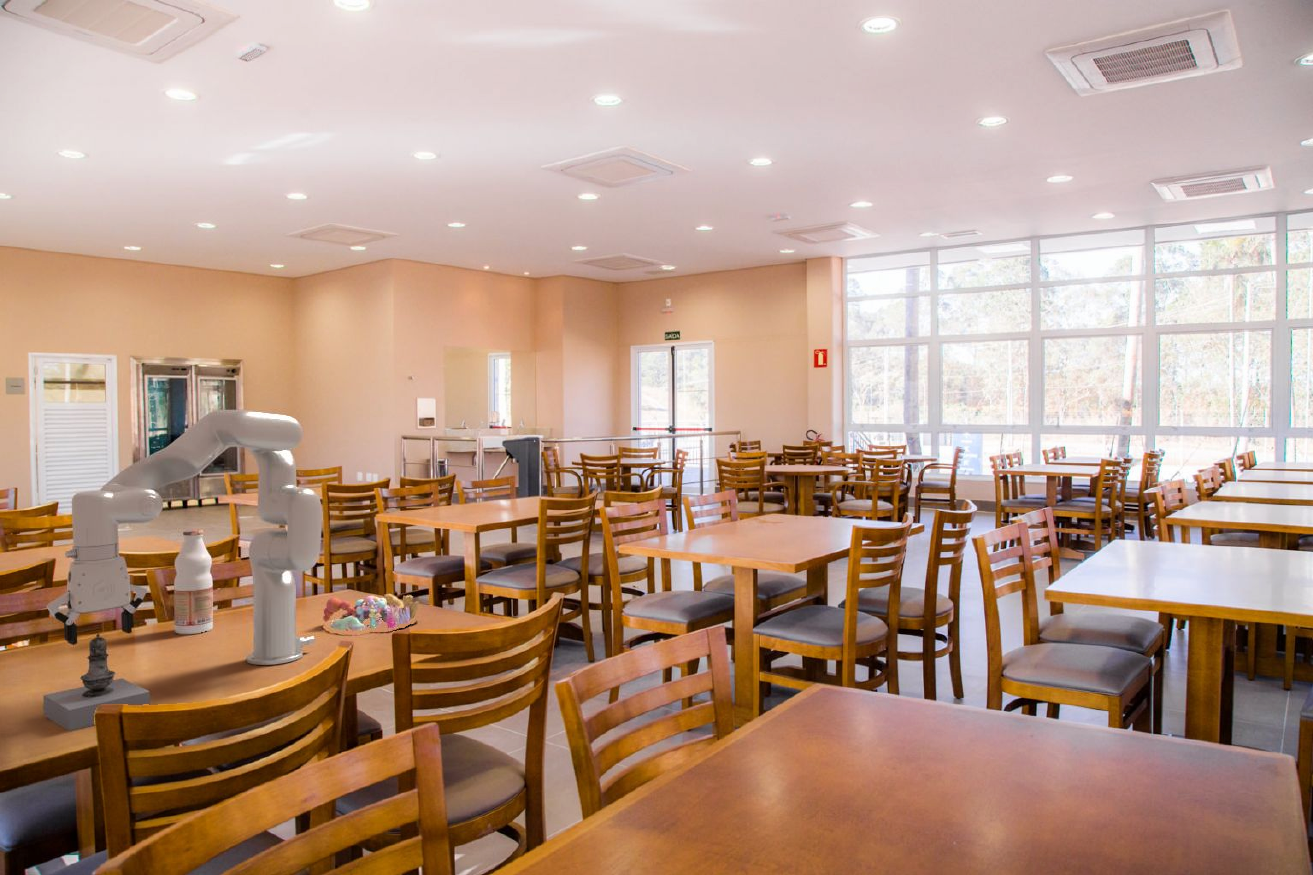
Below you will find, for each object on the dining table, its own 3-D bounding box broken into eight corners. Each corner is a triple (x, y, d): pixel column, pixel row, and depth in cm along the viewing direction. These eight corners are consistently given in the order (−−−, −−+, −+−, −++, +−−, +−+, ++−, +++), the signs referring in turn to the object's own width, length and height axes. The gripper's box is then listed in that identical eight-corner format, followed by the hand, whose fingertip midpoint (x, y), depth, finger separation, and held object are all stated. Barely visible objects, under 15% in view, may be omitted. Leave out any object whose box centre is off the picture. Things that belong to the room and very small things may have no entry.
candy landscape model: (383, 612, 260) (383, 583, 260) (433, 623, 246) (433, 592, 246) (308, 629, 240) (308, 596, 239) (358, 642, 226) (358, 607, 226)
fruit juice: (169, 635, 230) (168, 533, 229) (180, 627, 239) (180, 528, 239) (207, 634, 232) (206, 532, 231) (217, 625, 241) (216, 527, 241)
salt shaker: (73, 696, 167) (72, 636, 167) (98, 687, 173) (97, 628, 173) (98, 698, 166) (97, 637, 166) (122, 689, 172) (122, 630, 171)
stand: (122, 697, 179) (121, 678, 179) (150, 711, 170) (149, 691, 170) (43, 715, 168) (43, 695, 168) (69, 731, 159) (69, 710, 159)
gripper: (52, 562, 160) (56, 651, 160) (151, 548, 173) (154, 631, 174) (38, 557, 164) (42, 644, 165) (136, 544, 178) (139, 625, 179)
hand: (100, 637), depth 170 cm, fingers open, 9 cm apart
